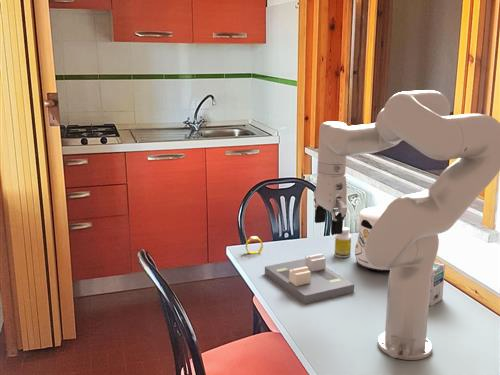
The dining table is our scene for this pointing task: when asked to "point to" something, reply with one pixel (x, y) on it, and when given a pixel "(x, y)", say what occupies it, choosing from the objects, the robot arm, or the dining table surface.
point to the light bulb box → (436, 283)
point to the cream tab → (300, 276)
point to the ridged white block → (315, 262)
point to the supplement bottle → (343, 243)
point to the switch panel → (319, 288)
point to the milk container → (365, 225)
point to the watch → (254, 239)
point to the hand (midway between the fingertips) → (328, 227)
